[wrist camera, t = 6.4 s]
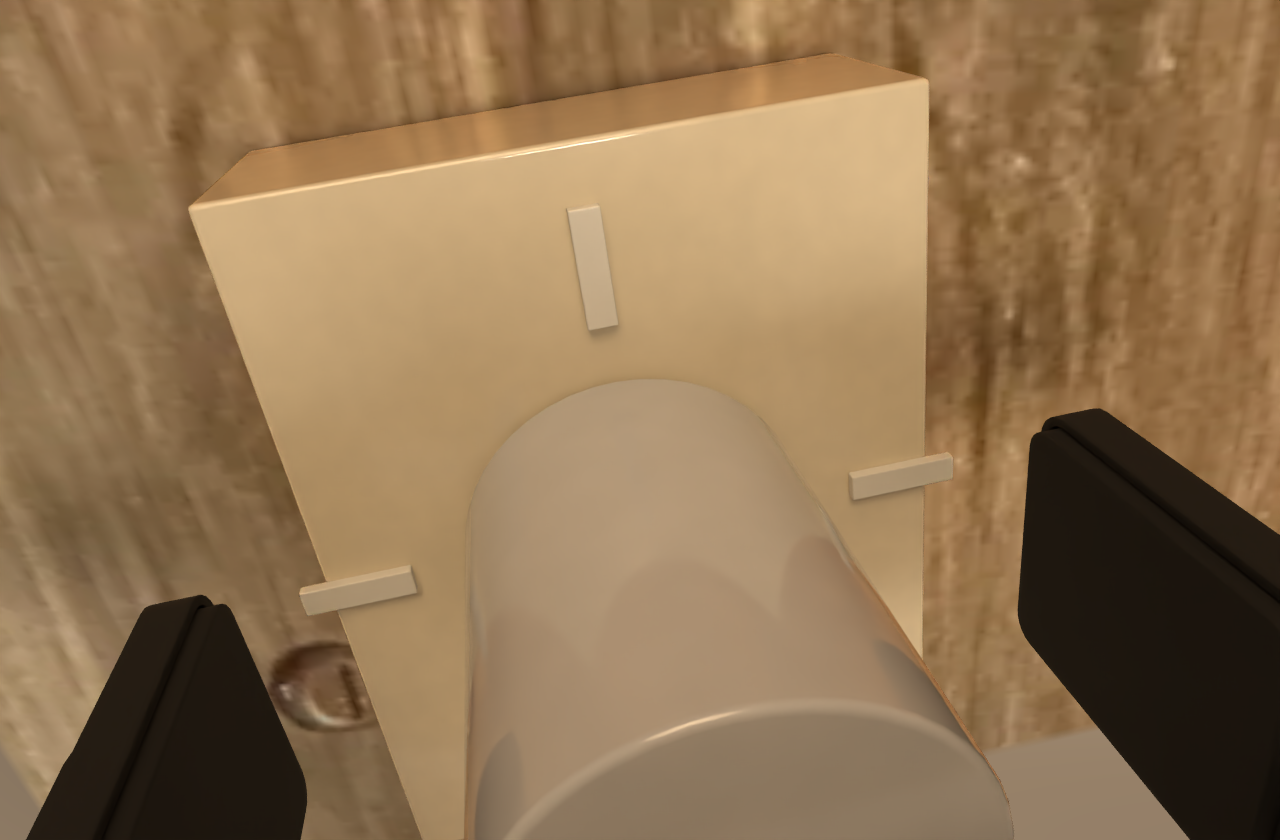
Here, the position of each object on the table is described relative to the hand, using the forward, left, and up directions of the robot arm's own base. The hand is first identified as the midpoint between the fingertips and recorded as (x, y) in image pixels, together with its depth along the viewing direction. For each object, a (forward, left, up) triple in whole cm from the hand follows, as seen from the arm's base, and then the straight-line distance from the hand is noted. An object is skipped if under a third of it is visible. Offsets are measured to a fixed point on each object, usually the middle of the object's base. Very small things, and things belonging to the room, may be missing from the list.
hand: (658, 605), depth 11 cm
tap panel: (0, 0, -5) cm, 5 cm away
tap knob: (0, 0, -2) cm, 2 cm away
